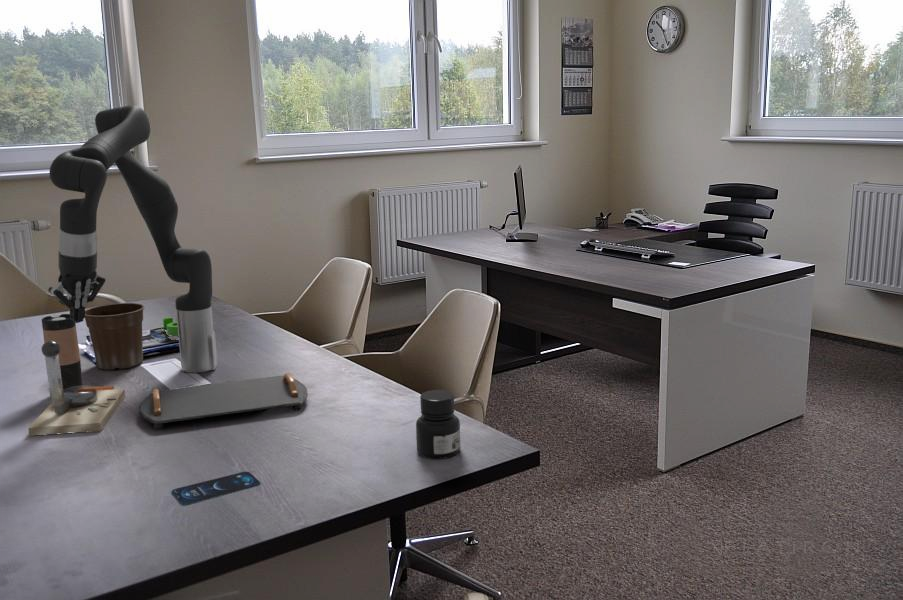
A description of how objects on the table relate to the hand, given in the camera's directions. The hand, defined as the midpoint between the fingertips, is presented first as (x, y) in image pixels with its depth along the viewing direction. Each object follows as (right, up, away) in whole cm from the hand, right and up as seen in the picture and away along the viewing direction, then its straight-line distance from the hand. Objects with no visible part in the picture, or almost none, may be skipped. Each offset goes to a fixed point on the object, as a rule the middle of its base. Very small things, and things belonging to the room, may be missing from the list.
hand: (77, 320), depth 186 cm
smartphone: (+39, -31, -29) cm, 57 cm away
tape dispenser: (-5, -7, +84) cm, 84 cm away
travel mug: (-14, -19, +27) cm, 36 cm away
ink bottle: (+80, -26, -14) cm, 85 cm away
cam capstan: (-4, -20, +12) cm, 24 cm away
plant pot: (-11, -14, +52) cm, 55 cm away
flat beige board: (-4, -22, +11) cm, 26 cm away
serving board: (+29, -21, +16) cm, 39 cm away
